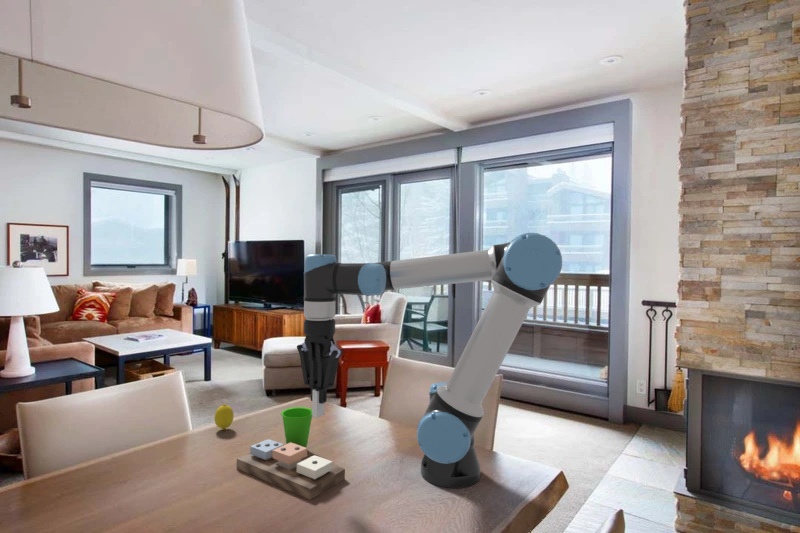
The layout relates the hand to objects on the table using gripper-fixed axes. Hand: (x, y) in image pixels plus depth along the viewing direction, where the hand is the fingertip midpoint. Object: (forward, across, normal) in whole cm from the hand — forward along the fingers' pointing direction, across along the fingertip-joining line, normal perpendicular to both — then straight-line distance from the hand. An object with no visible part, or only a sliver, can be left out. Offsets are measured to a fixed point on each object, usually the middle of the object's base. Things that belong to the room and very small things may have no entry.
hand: (318, 415), depth 110 cm
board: (+16, +9, 0) cm, 19 cm away
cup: (+17, +17, -10) cm, 26 cm away
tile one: (+16, 0, +1) cm, 16 cm away
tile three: (+16, +17, 0) cm, 23 cm away
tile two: (+15, +9, 0) cm, 17 cm away
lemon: (+16, +47, -8) cm, 50 cm away
